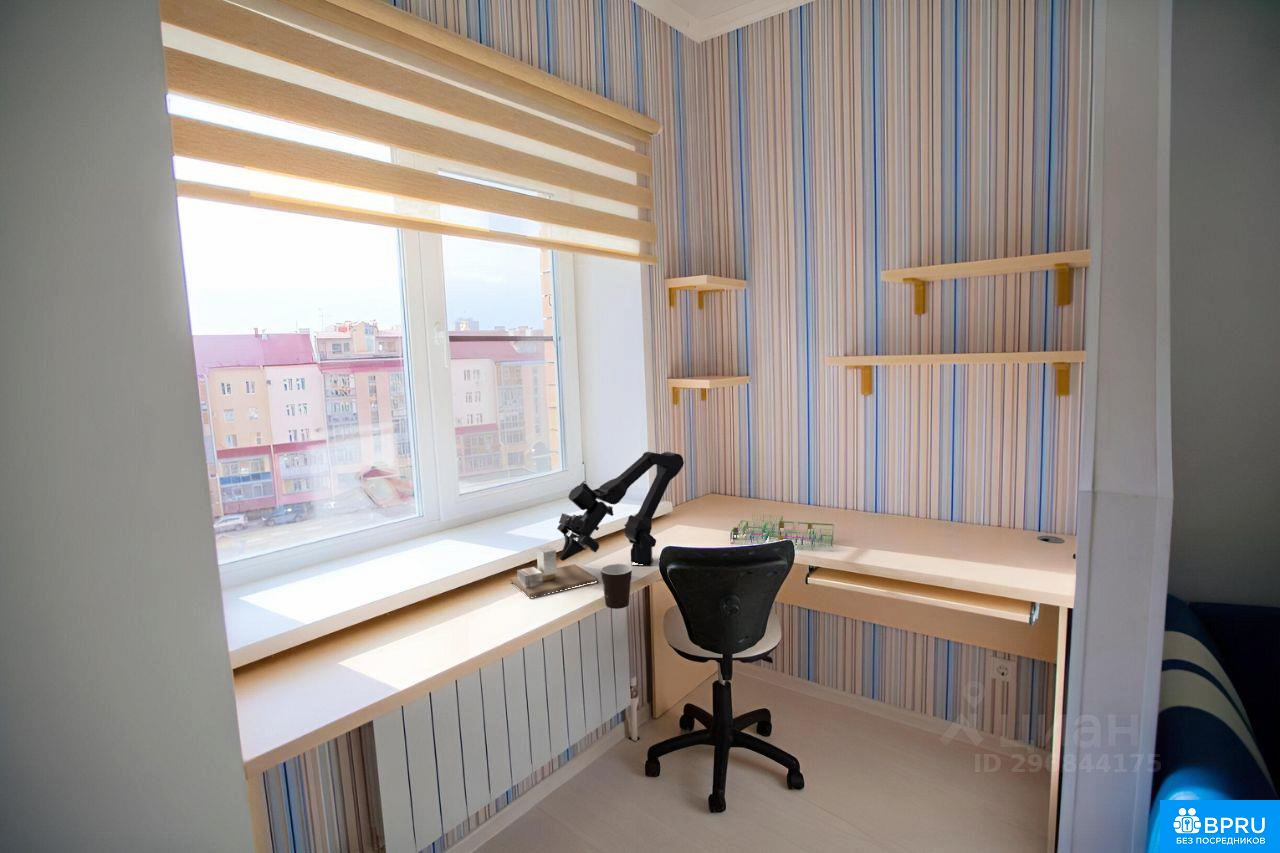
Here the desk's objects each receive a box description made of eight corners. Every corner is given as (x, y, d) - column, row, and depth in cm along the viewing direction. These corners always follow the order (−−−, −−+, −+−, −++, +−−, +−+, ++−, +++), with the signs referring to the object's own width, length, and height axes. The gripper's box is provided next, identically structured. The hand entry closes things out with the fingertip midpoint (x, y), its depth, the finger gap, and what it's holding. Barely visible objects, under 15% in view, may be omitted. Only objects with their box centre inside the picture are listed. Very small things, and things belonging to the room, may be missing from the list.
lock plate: (574, 568, 206) (574, 553, 205) (598, 582, 192) (597, 566, 192) (509, 582, 194) (509, 566, 194) (529, 598, 181) (529, 581, 180)
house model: (730, 545, 228) (729, 532, 228) (743, 524, 256) (743, 513, 256) (831, 553, 217) (831, 540, 217) (834, 531, 245) (834, 518, 244)
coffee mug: (626, 611, 170) (625, 575, 169) (596, 608, 173) (595, 572, 172) (640, 596, 181) (639, 562, 180) (612, 593, 184) (611, 559, 183)
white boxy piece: (550, 574, 195) (549, 546, 194) (556, 579, 191) (555, 550, 190) (522, 580, 191) (521, 551, 190) (528, 585, 186) (527, 555, 185)
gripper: (561, 498, 203) (530, 538, 198) (588, 509, 187) (555, 553, 183) (584, 518, 208) (555, 557, 203) (612, 530, 192) (581, 573, 188)
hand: (561, 559), depth 194 cm, fingers closed
